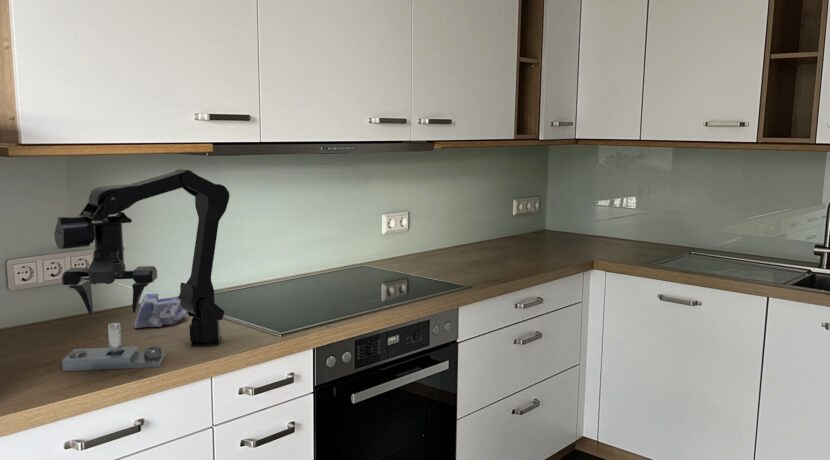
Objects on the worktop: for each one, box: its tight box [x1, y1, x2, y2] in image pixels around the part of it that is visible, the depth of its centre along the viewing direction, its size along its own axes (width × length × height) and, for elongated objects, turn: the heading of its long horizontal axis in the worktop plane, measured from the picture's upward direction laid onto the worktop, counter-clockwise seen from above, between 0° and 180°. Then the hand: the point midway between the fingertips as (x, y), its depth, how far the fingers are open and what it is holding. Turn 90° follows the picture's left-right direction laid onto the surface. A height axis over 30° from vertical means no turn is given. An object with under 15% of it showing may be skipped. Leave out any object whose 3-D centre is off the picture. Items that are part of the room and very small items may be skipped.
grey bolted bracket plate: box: [61, 346, 167, 372], centre depth 157 cm, size 20×8×3 cm, turn 99°
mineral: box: [134, 293, 188, 329], centre depth 189 cm, size 14×10×10 cm
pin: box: [107, 322, 122, 355], centre depth 157 cm, size 2×2×9 cm
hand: (112, 313), depth 156 cm, fingers open, 9 cm apart
